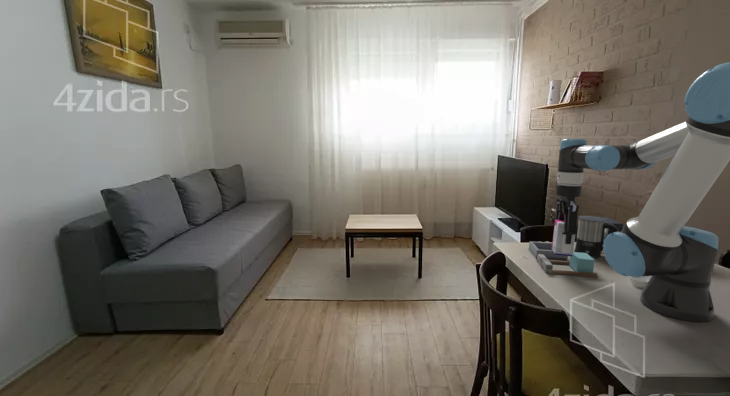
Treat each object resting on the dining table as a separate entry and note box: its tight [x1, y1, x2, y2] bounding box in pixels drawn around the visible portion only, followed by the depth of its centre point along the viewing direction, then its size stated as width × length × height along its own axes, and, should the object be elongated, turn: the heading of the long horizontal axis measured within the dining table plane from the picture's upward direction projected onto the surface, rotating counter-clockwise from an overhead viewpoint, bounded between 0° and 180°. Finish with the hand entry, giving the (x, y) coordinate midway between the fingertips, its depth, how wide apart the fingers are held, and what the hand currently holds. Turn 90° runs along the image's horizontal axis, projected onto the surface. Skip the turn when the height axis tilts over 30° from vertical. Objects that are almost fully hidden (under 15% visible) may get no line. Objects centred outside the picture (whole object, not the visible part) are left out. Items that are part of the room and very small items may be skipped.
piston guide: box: [536, 254, 598, 278], centre depth 123 cm, size 11×16×3 cm
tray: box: [528, 240, 569, 261], centre depth 136 cm, size 11×11×4 cm
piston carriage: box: [568, 251, 596, 273], centre depth 121 cm, size 7×5×5 cm
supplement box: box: [551, 219, 576, 257], centre depth 121 cm, size 6×6×12 cm
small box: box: [602, 217, 624, 242], centre depth 151 cm, size 11×6×10 cm, turn 178°
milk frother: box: [573, 215, 619, 258], centre depth 139 cm, size 14×16×15 cm
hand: (562, 249), depth 121 cm, fingers closed on supplement box, 6 cm apart
